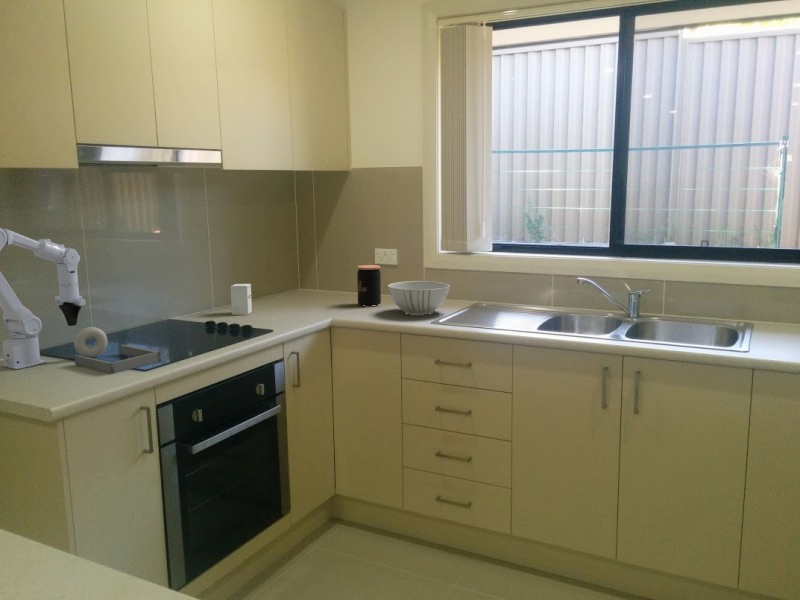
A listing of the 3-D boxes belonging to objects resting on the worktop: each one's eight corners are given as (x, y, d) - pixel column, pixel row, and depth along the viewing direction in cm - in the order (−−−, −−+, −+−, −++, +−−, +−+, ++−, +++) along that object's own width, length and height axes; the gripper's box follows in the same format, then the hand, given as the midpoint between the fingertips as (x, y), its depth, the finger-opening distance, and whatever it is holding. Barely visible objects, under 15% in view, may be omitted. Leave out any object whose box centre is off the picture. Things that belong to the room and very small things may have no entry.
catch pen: (111, 373, 196) (111, 363, 196) (75, 364, 207) (74, 355, 206) (160, 361, 210) (160, 351, 210) (124, 353, 220) (123, 344, 220)
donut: (107, 353, 220) (105, 324, 219) (109, 356, 217) (107, 325, 216) (74, 358, 215) (71, 328, 213) (76, 360, 212) (73, 329, 210)
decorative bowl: (416, 321, 270) (416, 292, 268) (375, 312, 290) (374, 285, 288) (462, 313, 287) (462, 285, 285) (420, 305, 307) (420, 279, 305)
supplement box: (248, 315, 287) (247, 285, 285) (231, 315, 287) (229, 286, 285) (252, 311, 294) (251, 283, 292) (235, 312, 294) (234, 283, 292)
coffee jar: (355, 303, 313) (354, 265, 310) (377, 302, 316) (376, 264, 313) (361, 307, 303) (360, 268, 300) (383, 306, 306) (383, 267, 303)
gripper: (92, 284, 217) (96, 325, 219) (67, 281, 225) (71, 321, 227) (72, 287, 211) (75, 329, 213) (47, 284, 219) (51, 324, 221)
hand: (72, 325), depth 220 cm, fingers closed
